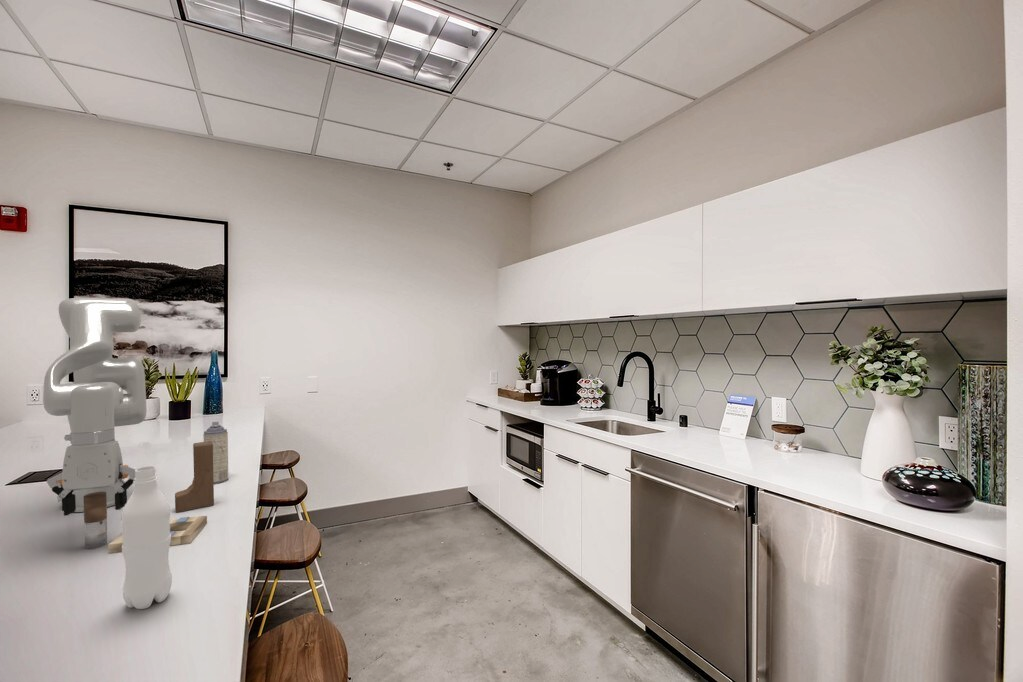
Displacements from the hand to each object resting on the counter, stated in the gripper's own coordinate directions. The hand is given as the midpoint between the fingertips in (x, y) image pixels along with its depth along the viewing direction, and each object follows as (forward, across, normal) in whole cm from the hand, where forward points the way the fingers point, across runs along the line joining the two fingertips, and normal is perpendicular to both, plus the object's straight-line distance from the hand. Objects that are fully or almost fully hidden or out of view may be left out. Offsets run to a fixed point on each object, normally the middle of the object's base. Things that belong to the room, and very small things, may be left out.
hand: (95, 510), depth 108 cm
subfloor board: (+8, +13, +1) cm, 15 cm away
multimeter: (+7, -27, +59) cm, 65 cm away
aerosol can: (+8, +13, +45) cm, 47 cm away
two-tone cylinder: (+8, 0, +1) cm, 8 cm away
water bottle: (+10, +22, -30) cm, 38 cm away
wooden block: (+8, +14, +21) cm, 26 cm away
